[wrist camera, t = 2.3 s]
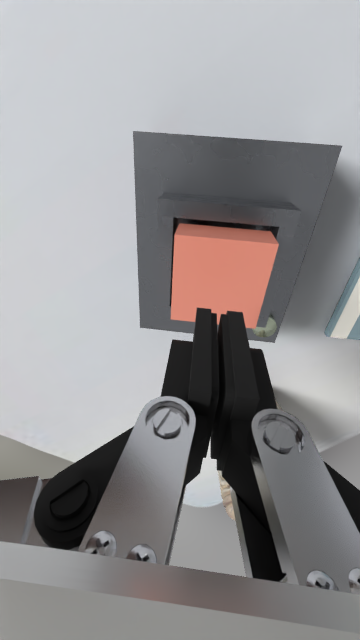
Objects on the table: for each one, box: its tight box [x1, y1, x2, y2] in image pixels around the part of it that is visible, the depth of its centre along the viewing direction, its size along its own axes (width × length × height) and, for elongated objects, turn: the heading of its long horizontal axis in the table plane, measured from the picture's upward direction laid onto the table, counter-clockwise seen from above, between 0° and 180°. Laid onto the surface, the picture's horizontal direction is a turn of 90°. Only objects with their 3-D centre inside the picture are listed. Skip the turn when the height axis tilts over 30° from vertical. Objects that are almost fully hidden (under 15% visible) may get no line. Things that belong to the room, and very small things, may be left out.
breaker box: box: [133, 131, 342, 343], centre depth 17 cm, size 12×10×7 cm
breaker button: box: [171, 223, 279, 329], centre depth 14 cm, size 5×5×2 cm
